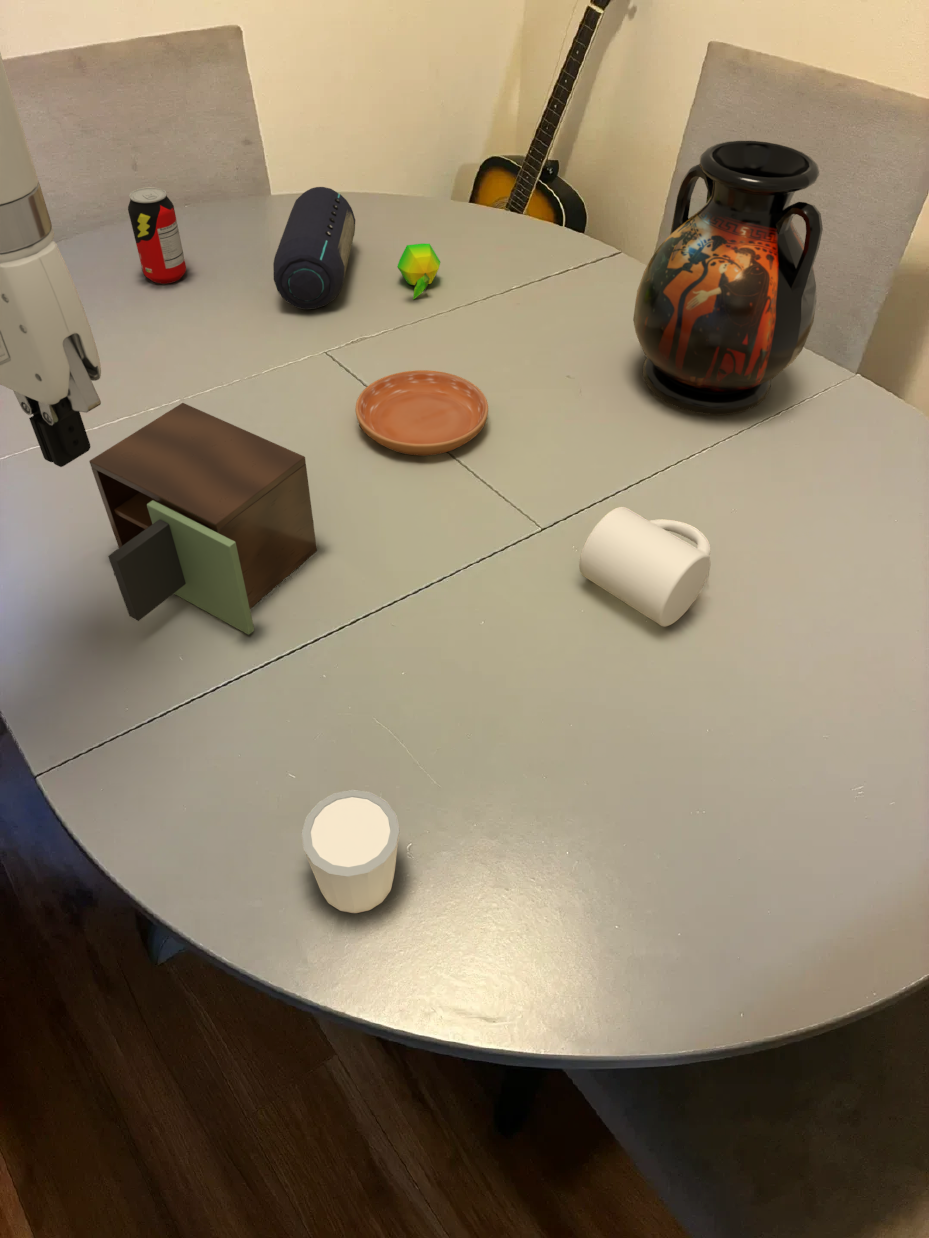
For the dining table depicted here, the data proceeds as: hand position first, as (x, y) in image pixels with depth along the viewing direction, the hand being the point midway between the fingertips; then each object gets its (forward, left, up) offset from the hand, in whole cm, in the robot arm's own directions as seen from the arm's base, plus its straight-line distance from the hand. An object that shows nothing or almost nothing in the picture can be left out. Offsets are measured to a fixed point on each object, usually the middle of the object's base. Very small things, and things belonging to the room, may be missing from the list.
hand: (68, 454), depth 70 cm
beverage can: (+53, +50, -20) cm, 76 cm away
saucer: (+43, -4, -20) cm, 48 cm away
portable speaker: (+66, +31, -20) cm, 76 cm away
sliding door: (+3, -5, -20) cm, 21 cm away
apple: (+73, +17, -20) cm, 78 cm away
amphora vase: (+72, -29, -20) cm, 80 cm away
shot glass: (-9, -34, -20) cm, 40 cm away
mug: (+33, -39, -20) cm, 55 cm away
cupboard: (+12, 0, -20) cm, 24 cm away
